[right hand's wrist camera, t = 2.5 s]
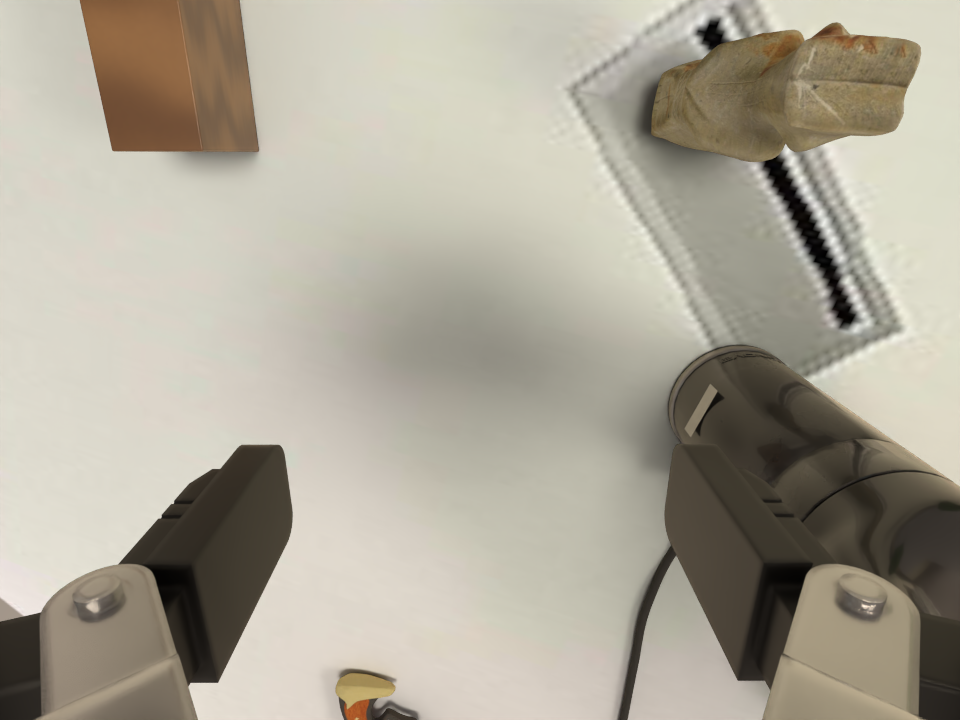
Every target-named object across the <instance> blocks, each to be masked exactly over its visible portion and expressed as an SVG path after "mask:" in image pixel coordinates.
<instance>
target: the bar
mask: <svg viewBox="0 0 960 720" xmlns="http://www.w3.org/2000/svg"><path fill="white" fill-rule="evenodd" d="M80 4H81V8H82V13H83V17H84V22H85V27H86V31H87V36H88V40H89V45H90V50H91V54H92V59H93V63H94V68H95V73H96V77H97V82H98V86H99V91H100V96H101V100H102V105H103V109H104V114H105V119H106V123H107V128H108V132H109V137H110V142H111V146H112V150H113V151H148V152H258V151H259V149H258V142H257V134H256V126H255V119H254V111H253V103H252V96H251V88H250V80H249V73H248V65H247V57H246V50H245V42H244V35H243V27H242V19H241V12H240V4H239V0H80Z"/></svg>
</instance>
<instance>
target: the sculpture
mask: <svg viewBox="0 0 960 720" xmlns="http://www.w3.org/2000/svg"><path fill="white" fill-rule="evenodd" d="M920 56H921V48H920V46H919V45H918V44H917V43H915V42H912V41H909V40H905V39H899V38H890V37H877V36H864V35H850V34H849V33H848V32H847V31H846V29H845V28H844V27H843V26H842V25H841V24H840V23H837V22H836V23H832V24H829V25H828V26H826V27H825V28H823V29H822V30H821V31H820V32H818V33H817V34H816V35H815V36H813V37H812V38H810V39H807V40H806V41H804V38H803V35H802V34H801V32H799V31H797V30H786V31H779V32H772V33H762V34H758V35H755V36H752V37H748V38H744V39H740V40H736V41H730V42H726V43H723V44H720V45H718V46H717V47H715V48H714V49H713V50H712V51H711V52H710V53H708V54H707V55H706V56H705V57H704V58H703V59H702V60H696V61H692V62H689V63H686V64H682V65H680V66H677V67H674V68H672V69H670V70H668V71H666V72H664V73H663V74H662V76H661V79H660V81H659V84H658V88H657V92H656V97H655V101H654V106H653V112H652V129H651V134H652V135H653V136H655V137H660V138H664V139H666V140H668V141H670V142H673V143H675V144H678V145H681V146H684V147H688V148H692V149H698V150H703V151H710V152H714V153H718V154H722V155H725V156H729V157H734V158H737V159H739V160H743V161H748V162H762V161H766V160H769V159H773V158H775V157H776V156H778V155H779V154H780V152H781V151H782V149H783V148H784V145H785V143H786V145H787V146H788V148H789V149H790V150H792V151H794V152H802V151H807V150H810V149H812V148H815V147H817V146H820V145H823V144H825V143H828V142H831V141H833V140H836V139H840V138H843V137H847V136H850V135H854V136H876V135H883V134H886V133H889V132H892V131H894V130H896V128H897V127H898V125H899V123H900V121H901V119H902V117H903V113H904V97H905V94H906V91H907V88H908V86H909V84H910V82H911V80H912V78H913V76H914V74H915V72H916V69H917V67H918V64H919V62H920Z"/></svg>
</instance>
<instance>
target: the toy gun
mask: <svg viewBox="0 0 960 720" xmlns="http://www.w3.org/2000/svg"><path fill="white" fill-rule="evenodd" d="M394 691H395V686H394V684H393V683H392V682H389V681H387V680H384V679H381V678H378V677H375V676H371V675H367V674H359V673H349V674H347V675H345V676H343V677H342V678H340V679H339V681H338V683H337V685H336V694H337V695H338V696H339V703H340V708H341V712H342V715H343V718H344V720H417V719H416V718H413V717H408V716H405V715H402V714H400V713H397V712H396V711H394V710H392V709H390V708H387V709H386V710H385V712H384V713H383V715H382V716H380V717H379V718H375V717H374V716H373V713H372V706H373V704H374V702H375V701H376V700H377V699H378V698H381V697H386V696H390V695H391V694H392V693H393V692H394Z"/></svg>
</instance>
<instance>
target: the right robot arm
mask: <svg viewBox="0 0 960 720" xmlns="http://www.w3.org/2000/svg"><path fill="white" fill-rule="evenodd" d="M669 420H670V423H671V426H672V429H673V431H674V433H675V434H676V436H677V437H678V439H679V440H680V441H681V443H682V444H677V445H676V446H675V448H674V450H673V454H672V461H671V468H670V475H669V482H668V490H667V497H666V504H665V526H666V531H667V535H668V538H669V541H670V543H671V545H672V546H671V547H670V549H669V550H668V552H667V553H666V555H665V557H664V558H663V560H662V562H661V564H660V566H659V568H658V570H657V572H656V574H655V576H654V578H653V580H652V583H651V585H650V588H649V590H648V593H647V595H646V598H645V600H644V603H643V606H642V608H641V612H640V615H639V618H638V622H637V627H636V632H635V638H634V645H633V651H632V657H631V662H630V667H629V672H628V677H627V682H626V688H625V693H624V699H623V704H622V709H621V715H620V720H627V719H628V714H629V709H630V704H631V698H632V693H633V688H634V683H635V678H636V673H637V668H638V664H639V658H640V652H641V646H642V640H643V635H644V630H645V625H646V621H647V618H648V615H649V612H650V609H651V606H652V604H653V601H654V599H655V596H656V594H657V591H658V589H659V587H660V584H661V582H662V580H663V578H664V576H665V574H666V572H667V570H668V568H669V566H670V564H671V562H672V561H673V559H674V558H675V556H676V555H677V557H678V559H679V561H680V563H681V565H682V567H683V569H684V572H685V574H686V576H687V578H688V580H689V582H690V584H691V586H692V588H693V590H694V592H695V594H696V596H697V598H698V600H699V602H700V604H701V606H702V608H703V610H704V612H705V614H706V616H707V619H708V621H709V623H710V625H711V627H712V629H713V631H714V633H715V635H716V637H717V639H718V641H719V643H720V645H721V647H722V649H723V651H724V653H725V655H726V657H727V659H728V661H729V663H730V666H731V668H732V670H733V672H734V674H735V676H736V678H737V680H738V681H766V683H767V685H768V687H769V689H770V695H769V698H768V701H767V705H766V708H765V712H764V715H763V718H762V720H960V486H958V485H957V484H955V483H954V482H953V481H951V480H950V479H948V478H947V477H945V476H944V475H943V474H941V473H940V472H938V471H937V470H935V469H934V468H933V467H931V466H930V465H928V464H927V463H925V462H924V461H922V460H921V459H920V458H918V457H917V456H915V455H914V454H912V453H911V452H909V451H908V450H906V449H905V448H903V447H902V446H900V445H899V444H898V443H896V442H895V441H893V440H892V439H890V438H889V437H888V436H886V435H885V434H883V433H882V432H880V431H879V430H877V429H876V428H875V427H873V426H872V425H870V424H869V423H867V422H866V421H864V420H863V419H862V418H860V417H859V416H857V415H856V414H854V413H853V412H852V411H850V410H849V409H847V408H846V407H844V406H843V405H841V404H840V403H839V402H837V401H836V400H834V399H833V398H831V397H830V396H829V395H827V394H826V393H824V392H823V391H821V390H820V389H818V388H817V387H816V386H814V385H813V384H811V383H810V382H808V381H807V380H805V379H804V378H803V377H801V376H800V375H798V374H797V373H795V372H794V371H793V370H791V369H790V368H788V367H787V366H786V365H785V364H784V363H783V362H782V361H781V360H779V359H778V358H776V357H775V356H774V355H772V354H770V353H769V352H767V351H765V350H762V349H760V348H756V347H752V346H741V345H739V346H728V347H724V348H720V349H717V350H714V351H712V352H709V353H707V354H705V355H703V356H702V357H700V358H699V359H697V360H696V361H695V362H693V363H692V364H691V365H690V366H689V367H688V368H687V369H686V370H685V371H684V372H683V373H682V375H681V376H680V377H679V379H678V380H677V382H676V384H675V386H674V388H673V390H672V393H671V396H670V400H669ZM292 517H293V514H292V504H291V497H290V490H289V482H288V475H287V468H286V461H285V455H284V451H283V449H282V447H281V446H280V445H241V446H239V447H238V448H237V449H236V451H235V452H234V453H233V454H232V456H231V457H230V458H229V459H228V460H227V462H226V463H225V464H224V465H223V466H222V468H221V469H212V470H210V471H209V472H207V473H206V474H204V475H202V476H201V477H199V478H198V479H196V480H194V481H193V482H191V483H190V484H189V485H188V486H187V487H186V488H185V489H184V490H183V491H182V493H181V494H180V495H179V496H178V497H177V498H176V499H175V501H174V504H171V505H170V506H169V507H168V508H167V510H166V511H165V512H164V513H163V514H162V518H161V519H158V520H157V521H156V522H155V523H154V524H153V525H152V527H151V528H150V529H149V530H148V531H147V532H146V533H145V535H144V536H143V537H142V538H141V539H140V540H139V541H138V543H137V544H136V545H135V546H134V547H133V548H132V549H131V550H130V552H129V553H128V554H127V555H126V556H125V557H124V558H123V560H122V561H121V562H120V563H119V564H118V565H113V566H108V567H104V568H101V569H98V570H95V571H92V572H90V573H87V574H85V575H83V576H81V577H79V578H77V579H75V580H74V581H72V582H70V583H69V584H67V585H66V586H64V587H63V588H62V589H60V590H59V591H58V592H57V593H56V594H54V595H53V596H52V597H51V599H50V600H49V601H48V602H47V603H46V605H45V606H44V608H43V610H42V612H41V613H37V614H33V615H28V616H24V617H19V618H15V619H11V620H6V621H1V622H0V720H198V718H197V715H196V712H195V708H194V705H193V701H192V698H191V695H190V691H189V688H188V686H189V684H190V683H218V682H219V680H220V677H221V675H222V673H223V671H224V669H225V667H226V665H227V663H228V661H229V659H230V657H231V655H232V653H233V651H234V649H235V647H236V645H237V643H238V641H239V639H240V637H241V635H242V633H243V631H244V629H245V627H246V625H247V623H248V621H249V619H250V617H251V615H252V613H253V611H254V609H255V607H256V605H257V603H258V601H259V599H260V597H261V595H262V593H263V591H264V589H265V587H266V585H267V583H268V581H269V579H270V577H271V575H272V573H273V571H274V568H275V566H276V564H277V562H278V560H279V558H280V556H281V554H282V552H283V550H284V548H285V546H286V544H287V542H288V540H289V537H290V533H291V528H292Z"/></svg>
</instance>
